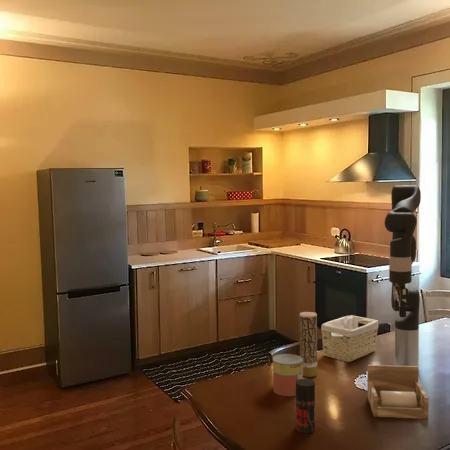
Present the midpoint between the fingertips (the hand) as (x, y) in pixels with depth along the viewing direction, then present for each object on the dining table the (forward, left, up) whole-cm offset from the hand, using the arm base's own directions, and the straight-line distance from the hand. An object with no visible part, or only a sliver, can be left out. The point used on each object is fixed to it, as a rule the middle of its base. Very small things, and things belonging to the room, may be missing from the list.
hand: (400, 313), depth 183 cm
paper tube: (-18, -32, -30) cm, 48 cm away
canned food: (-2, -40, -30) cm, 50 cm away
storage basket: (-45, -13, -30) cm, 56 cm away
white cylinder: (+12, -3, -26) cm, 29 cm away
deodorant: (+28, -34, -30) cm, 53 cm away
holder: (+10, -3, -30) cm, 32 cm away
